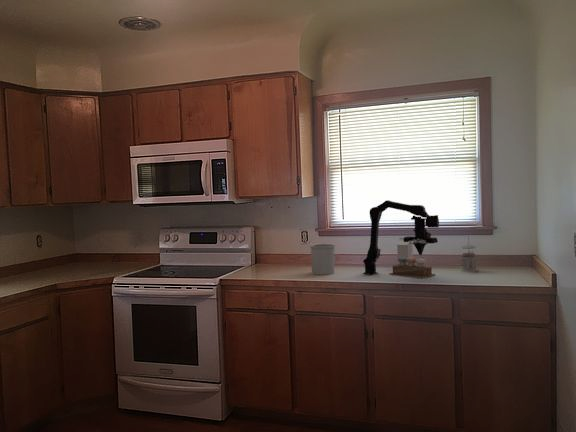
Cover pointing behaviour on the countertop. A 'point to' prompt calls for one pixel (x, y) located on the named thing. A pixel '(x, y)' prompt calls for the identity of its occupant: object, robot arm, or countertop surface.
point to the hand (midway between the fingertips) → (420, 254)
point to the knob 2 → (420, 263)
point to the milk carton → (404, 249)
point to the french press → (468, 258)
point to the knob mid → (411, 262)
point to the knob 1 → (402, 261)
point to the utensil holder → (322, 259)
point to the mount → (412, 271)
